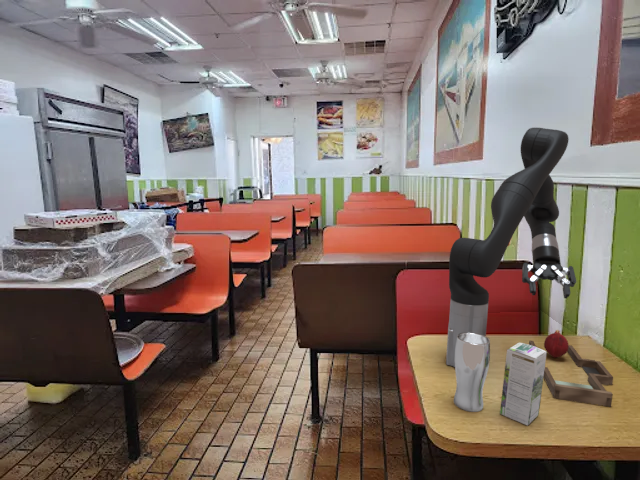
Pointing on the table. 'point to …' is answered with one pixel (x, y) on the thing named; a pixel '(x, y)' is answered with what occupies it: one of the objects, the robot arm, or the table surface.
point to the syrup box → (523, 383)
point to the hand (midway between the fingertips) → (550, 295)
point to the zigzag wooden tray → (579, 391)
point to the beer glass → (471, 370)
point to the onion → (556, 344)
